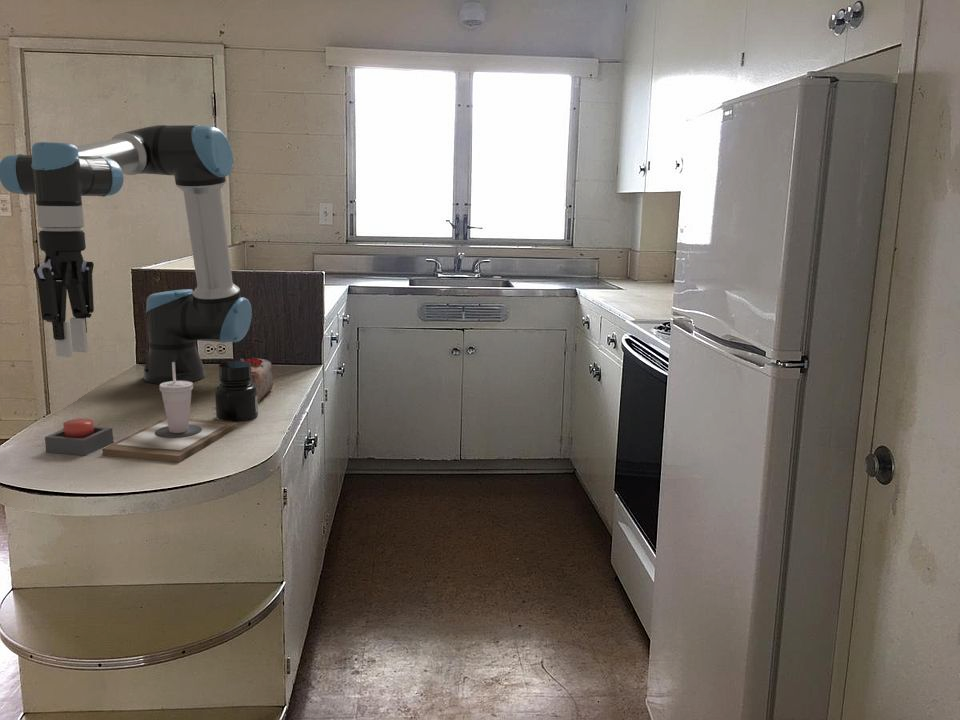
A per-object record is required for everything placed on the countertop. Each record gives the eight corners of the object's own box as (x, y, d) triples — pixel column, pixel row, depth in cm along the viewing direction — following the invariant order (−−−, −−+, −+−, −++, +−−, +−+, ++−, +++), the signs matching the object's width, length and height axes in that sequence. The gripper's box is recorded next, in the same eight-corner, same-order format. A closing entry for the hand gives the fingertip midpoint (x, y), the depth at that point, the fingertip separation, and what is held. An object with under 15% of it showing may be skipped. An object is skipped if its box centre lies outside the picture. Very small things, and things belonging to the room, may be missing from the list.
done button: (76, 429, 157) (75, 417, 157) (100, 431, 157) (99, 419, 156) (58, 437, 152) (57, 425, 152) (82, 439, 152) (81, 427, 151)
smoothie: (184, 423, 166) (180, 358, 164) (201, 429, 163) (198, 362, 160) (155, 430, 161) (151, 363, 159) (173, 436, 158) (169, 367, 155)
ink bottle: (267, 416, 179) (265, 364, 176) (236, 425, 171) (233, 371, 169) (238, 408, 184) (236, 358, 181) (206, 417, 177) (204, 364, 174)
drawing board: (168, 422, 172) (167, 415, 172) (236, 428, 169) (236, 421, 169) (102, 454, 151) (102, 447, 151) (179, 462, 148) (179, 454, 148)
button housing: (75, 438, 160) (74, 424, 159) (113, 442, 158) (112, 427, 158) (46, 451, 152) (44, 436, 151) (85, 455, 150) (84, 440, 150)
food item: (261, 405, 188) (259, 364, 186) (227, 404, 188) (225, 363, 186) (275, 390, 201) (274, 352, 199) (244, 390, 201) (242, 351, 199)
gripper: (74, 226, 155) (84, 344, 160) (9, 230, 139) (22, 361, 144) (108, 228, 154) (117, 346, 159) (47, 232, 137) (59, 364, 142)
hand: (72, 353), depth 151 cm, fingers open, 4 cm apart
